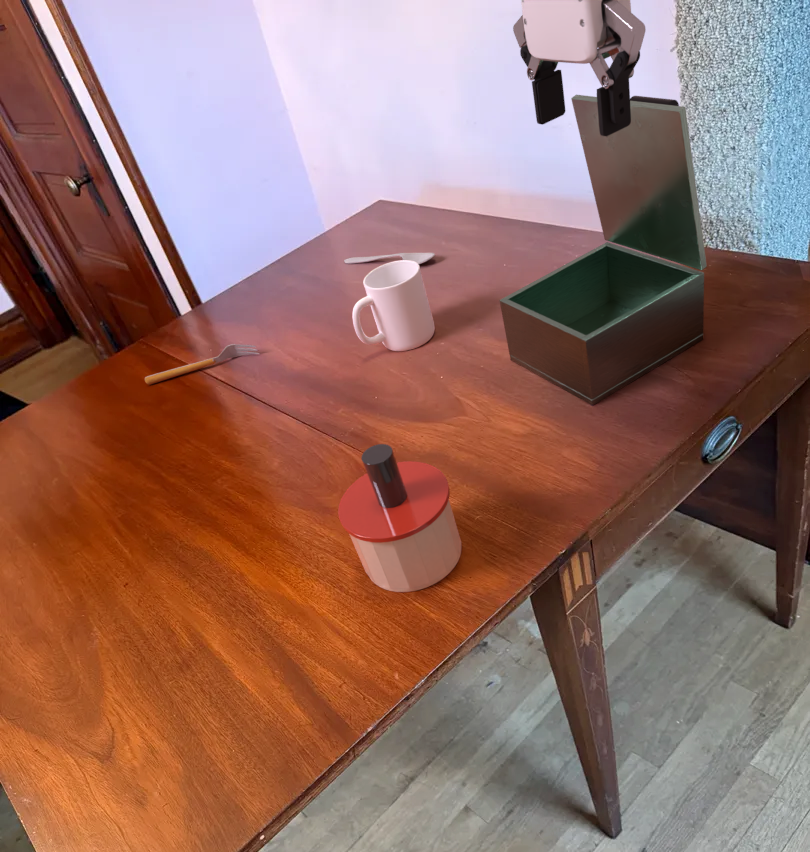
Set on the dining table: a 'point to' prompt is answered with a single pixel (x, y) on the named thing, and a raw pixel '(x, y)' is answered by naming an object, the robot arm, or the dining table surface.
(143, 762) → the dining table surface
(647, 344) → the open box
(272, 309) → the dining table surface
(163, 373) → the fork
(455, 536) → the pot
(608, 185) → the box lid
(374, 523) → the pot lid
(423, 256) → the spoon
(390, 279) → the cup
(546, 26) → the robot arm
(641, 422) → the dining table surface
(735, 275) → the dining table surface
